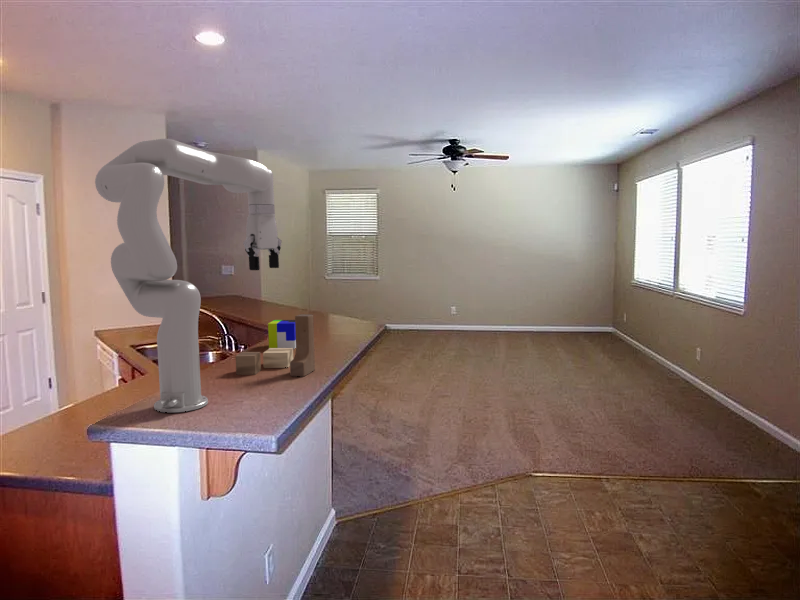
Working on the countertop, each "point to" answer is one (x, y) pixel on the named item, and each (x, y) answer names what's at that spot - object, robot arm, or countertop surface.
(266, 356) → the oak block
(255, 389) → the countertop surface
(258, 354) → the walnut cube
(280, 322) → the puzzle toy
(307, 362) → the wooden block
